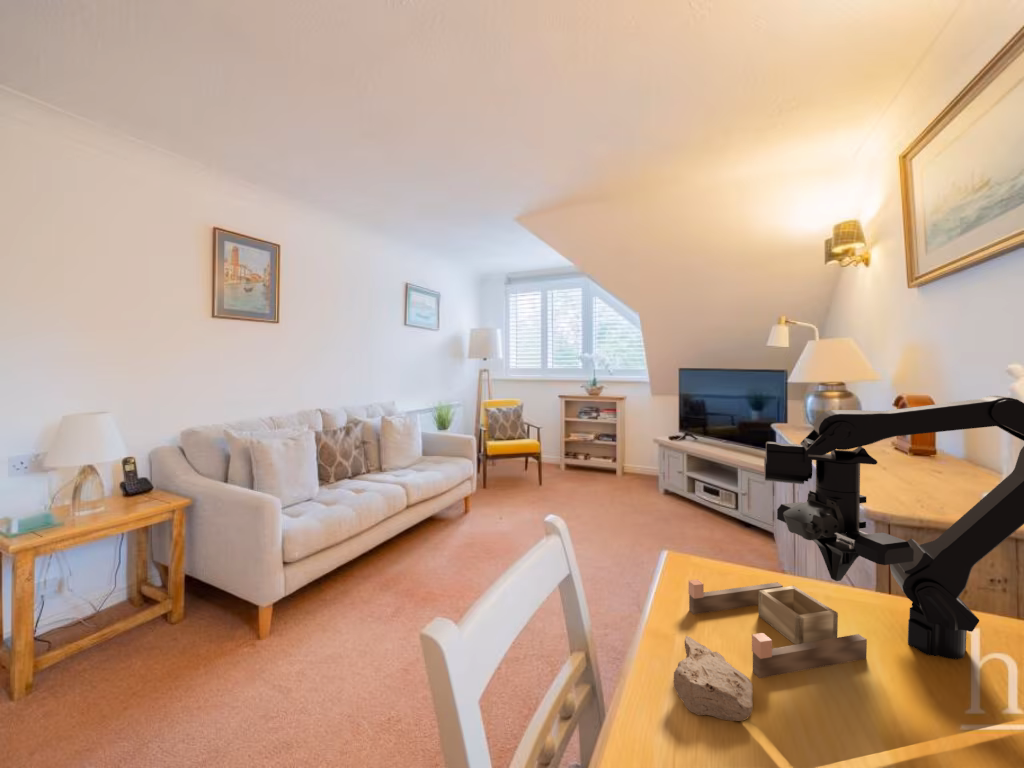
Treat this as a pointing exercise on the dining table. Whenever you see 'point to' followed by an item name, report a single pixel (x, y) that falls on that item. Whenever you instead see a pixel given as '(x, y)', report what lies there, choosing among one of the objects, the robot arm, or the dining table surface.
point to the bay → (787, 652)
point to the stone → (712, 684)
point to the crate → (797, 615)
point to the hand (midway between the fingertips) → (836, 580)
